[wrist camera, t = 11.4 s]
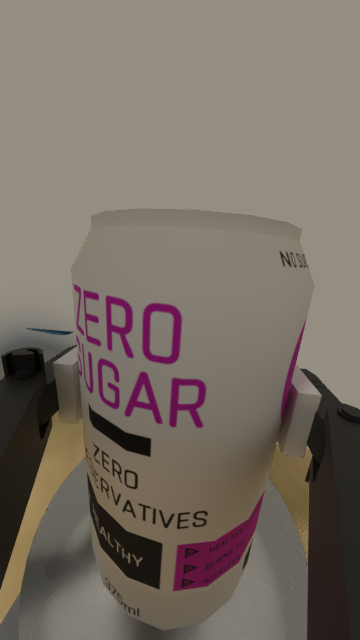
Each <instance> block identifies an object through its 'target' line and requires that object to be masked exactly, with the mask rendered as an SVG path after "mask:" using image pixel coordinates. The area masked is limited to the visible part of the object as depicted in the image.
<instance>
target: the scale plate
mask: <svg viewBox="0 0 360 640" xmlns="http://www.w3.org/2000/svg"><path fill="white" fill-rule="evenodd" d="M307 602H308V567H307V562H306V558H305V553H304V550H303V546H302V543H301V540H300V537H299V534H298V531H297V528H296V526H295V523H294V521H293V519H292V516H291V514H290V512H289V510H288V508H287V506H286V504H285V502H284V500H283V499H282V497H281V495H280V493H279V492H278V490H277V489H276V487H275V486H274V484H273V483H272V481H271V480H270V479H269V477H268V480H267V484H266V488H265V492H264V496H263V500H262V504H261V509H260V513H259V517H258V521H257V525H256V529H255V533H254V537H253V541H252V546H251V550H250V554H249V558H248V562H247V566H246V568H245V570H244V572H243V574H242V576H241V578H240V581H239V583H238V585H237V587H236V589H235V591H234V593H233V595H232V597H231V599H230V600H229V601H228V602H227V603H226V604H224V605H223V606H222V607H221V608H220V609H219V610H217V611H216V612H215V613H214V614H213V615H211V616H210V617H209V618H208V619H207V620H205V621H204V622H203V623H202V624H199V625H193V626H187V627H181V628H175V629H169V630H161V629H158V628H156V627H154V626H151V625H149V624H147V623H144V622H142V621H140V620H137V619H135V618H133V617H130V616H128V615H127V614H126V613H125V612H124V610H123V609H122V608H121V607H120V605H119V604H118V603H117V602H116V600H115V599H114V598H113V596H112V595H111V594H110V593H109V591H108V590H107V589H106V588H105V586H104V585H103V583H102V579H101V576H100V572H99V569H98V565H97V562H96V558H95V554H94V551H93V545H92V532H91V519H90V506H89V494H88V481H87V468H86V457H85V458H84V459H83V460H82V461H81V462H80V463H79V464H78V465H77V466H76V467H75V468H74V469H73V471H72V472H71V473H70V474H69V476H68V477H67V478H66V479H65V481H64V482H63V483H62V485H61V486H60V488H59V489H58V491H57V492H56V494H55V495H54V497H53V498H52V500H51V502H50V504H49V506H48V508H47V509H46V511H45V513H44V515H43V517H42V519H41V522H40V524H39V527H38V529H37V531H36V534H35V536H34V539H33V542H32V545H31V549H30V552H29V555H28V559H27V562H26V567H25V572H24V577H23V582H22V587H21V595H20V607H19V619H18V627H19V640H307Z"/></svg>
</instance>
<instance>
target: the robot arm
mask: <svg viewBox="0 0 360 640" xmlns="http://www.w3.org/2000/svg"><path fill="white" fill-rule="evenodd" d="M1 357H2V363H3V368H4V373H5V377H4V378H3V379H2V380H0V589H1V586H2V582H3V579H4V576H5V573H6V570H7V567H8V564H9V560H10V557H11V554H12V551H13V548H14V545H15V541H16V538H17V535H18V532H19V529H20V526H21V523H22V519H23V516H24V513H25V510H26V507H27V504H28V501H29V497H30V494H31V491H32V488H33V485H34V482H35V479H36V475H37V472H38V469H39V466H40V463H41V460H42V457H43V453H44V450H45V447H46V444H47V441H48V438H49V435H50V431H51V428H52V418H51V417H52V416H53V415H54V414H55V413H56V412H57V411H58V412H59V421H60V422H64V423H71V424H78V422H79V421H80V420H81V418H82V417H83V416H82V403H81V390H80V377H79V364H78V351H77V345H75V346H72V347H69V348H67V349H66V350H64V351H62V352H61V353H60V354H58V355H56V356H55V357H53V358H52V359H50V360H49V361H47V362H46V363H44V356H43V350H41V349H39V348H21V349H16V350H13V351H10V352H7V353H5V354H4V355H2V356H1ZM277 442H278V444H279V447H280V449H281V452H282V455H288V456H295V457H302V458H304V454H305V451H306V447H307V445H308V447H309V449H310V451H311V453H312V455H313V456H312V460H311V463H310V466H309V469H308V473H307V476H306V479H305V481H306V482H309V480H310V483H309V543H308V602H307V640H360V410H359V409H358V408H355V407H352V406H350V405H347V404H342V403H341V402H340V401H339V400H338V399H337V398H336V397H335V396H334V395H333V394H332V393H331V392H330V390H329V389H327V387H326V386H325V385H324V384H323V383H322V382H321V380H319V378H318V377H317V376H316V375H314V374H313V373H311V372H310V371H308V370H307V369H299V367H298V366H297V365H296V364H295V369H294V373H293V377H292V381H291V385H290V389H289V393H288V397H287V402H286V406H285V410H284V414H283V418H282V422H281V426H280V430H279V434H278V439H277Z"/></svg>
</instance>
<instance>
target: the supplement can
mask: <svg viewBox="0 0 360 640" xmlns="http://www.w3.org/2000/svg"><path fill="white" fill-rule="evenodd" d="M91 225H92V228H91V230H90V232H89V234H88V236H87V238H86V240H85V242H84V244H83V246H82V248H81V250H80V252H79V254H78V256H77V258H76V260H75V262H74V264H73V266H72V268H71V272H72V286H73V298H74V311H75V325H76V338H77V351H78V364H79V377H80V390H81V403H82V416H83V429H84V442H85V455H86V468H87V481H88V494H89V506H90V519H91V532H92V545H93V551H94V554H95V558H96V562H97V565H98V569H99V572H100V576H101V579H102V583H103V585H104V586H105V588H106V589H107V590H108V591H109V593H110V594H111V595H112V596H113V598H114V599H115V600H116V602H117V603H118V604H119V605H120V607H121V608H122V609H123V610H124V612H125V613H126V614H127V615H128V616H130V617H133V618H135V619H137V620H140V621H142V622H144V623H147V624H149V625H151V626H154V627H156V628H158V629H161V630H169V629H175V628H181V627H187V626H193V625H199V624H202V623H203V622H204V621H205V620H207V619H208V618H209V617H210V616H211V615H213V614H214V613H215V612H216V611H217V610H219V609H220V608H221V607H222V606H223V605H224V604H226V603H227V602H228V601H229V600H230V599H231V597H232V595H233V593H234V591H235V589H236V587H237V585H238V583H239V581H240V578H241V576H242V574H243V572H244V570H245V568H246V566H247V562H248V558H249V554H250V550H251V546H252V541H253V537H254V533H255V529H256V525H257V521H258V517H259V513H260V509H261V504H262V500H263V496H264V492H265V488H266V484H267V480H268V476H269V471H270V467H271V463H272V459H273V455H274V451H275V447H276V443H277V439H278V434H279V430H280V426H281V422H282V418H283V414H284V410H285V406H286V402H287V397H288V393H289V389H290V385H291V381H292V377H293V373H294V369H295V364H296V360H297V356H298V352H299V348H300V344H301V340H302V336H303V331H304V327H305V323H306V319H307V315H308V311H309V307H310V302H311V298H312V294H313V290H314V283H313V280H312V277H311V274H310V271H309V268H308V265H307V262H306V259H305V256H304V252H303V249H302V247H301V243H300V237H301V232H302V229H301V228H299V227H296V226H294V225H292V224H290V223H288V222H283V221H278V220H273V219H267V218H262V217H257V216H252V215H243V214H232V213H222V212H212V211H201V210H178V209H128V210H114V211H104V212H101V213H98V214H95V215H92V216H91Z"/></svg>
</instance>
